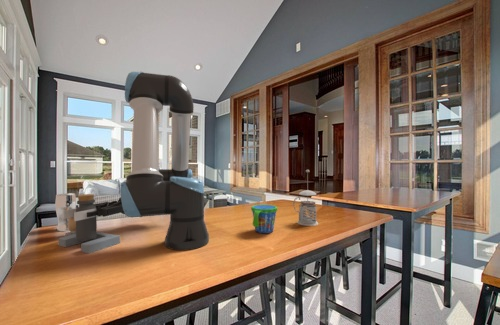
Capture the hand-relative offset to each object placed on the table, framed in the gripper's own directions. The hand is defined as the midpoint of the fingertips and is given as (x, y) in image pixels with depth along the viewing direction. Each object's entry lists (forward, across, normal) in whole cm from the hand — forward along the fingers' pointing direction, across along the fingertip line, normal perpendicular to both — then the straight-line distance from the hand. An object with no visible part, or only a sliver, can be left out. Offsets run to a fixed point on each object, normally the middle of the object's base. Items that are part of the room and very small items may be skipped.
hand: (69, 215), depth 76 cm
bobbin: (-10, +15, -12) cm, 21 cm away
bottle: (-5, 0, -9) cm, 11 cm away
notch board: (-6, 0, -11) cm, 13 cm away
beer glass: (-13, +28, -12) cm, 33 cm away
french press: (-66, -63, -12) cm, 92 cm away
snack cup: (-46, -50, -12) cm, 69 cm away
